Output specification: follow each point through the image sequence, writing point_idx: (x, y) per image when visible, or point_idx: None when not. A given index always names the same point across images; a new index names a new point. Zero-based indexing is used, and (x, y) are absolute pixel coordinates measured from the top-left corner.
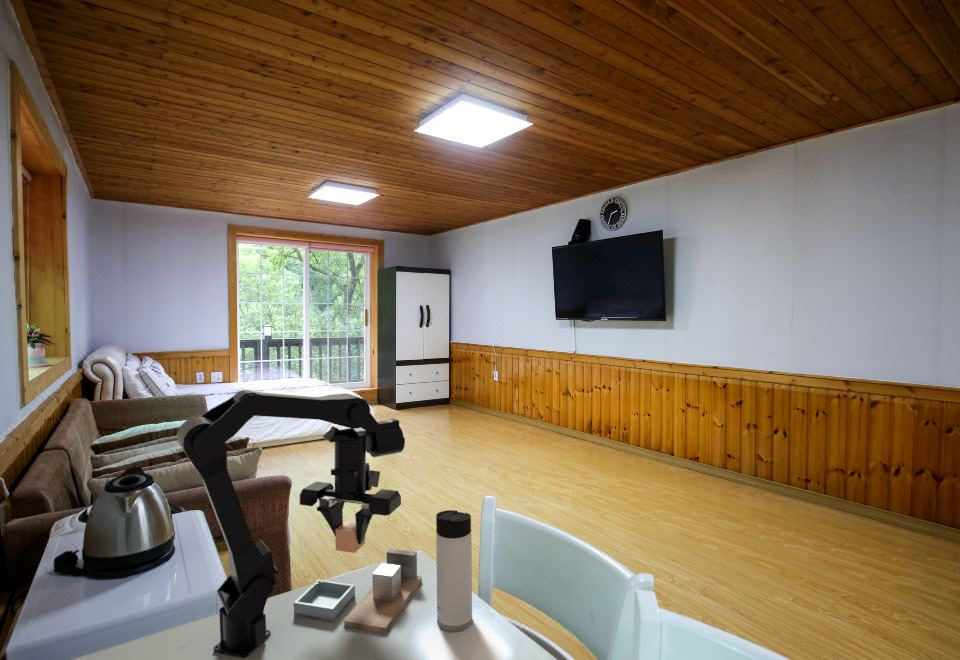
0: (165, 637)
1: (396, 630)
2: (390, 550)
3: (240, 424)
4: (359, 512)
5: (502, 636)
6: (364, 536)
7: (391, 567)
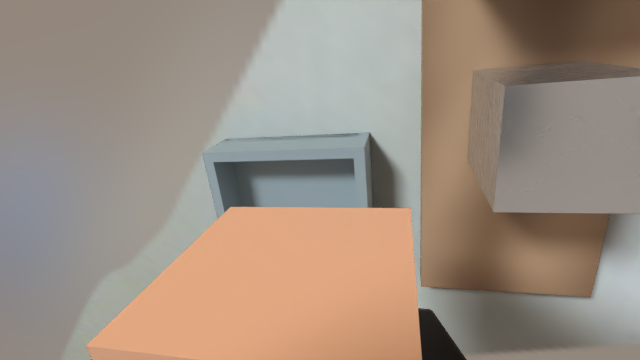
0: (85, 350)
1: (618, 263)
2: None
3: None
4: None
5: None
6: (457, 349)
7: (604, 120)
